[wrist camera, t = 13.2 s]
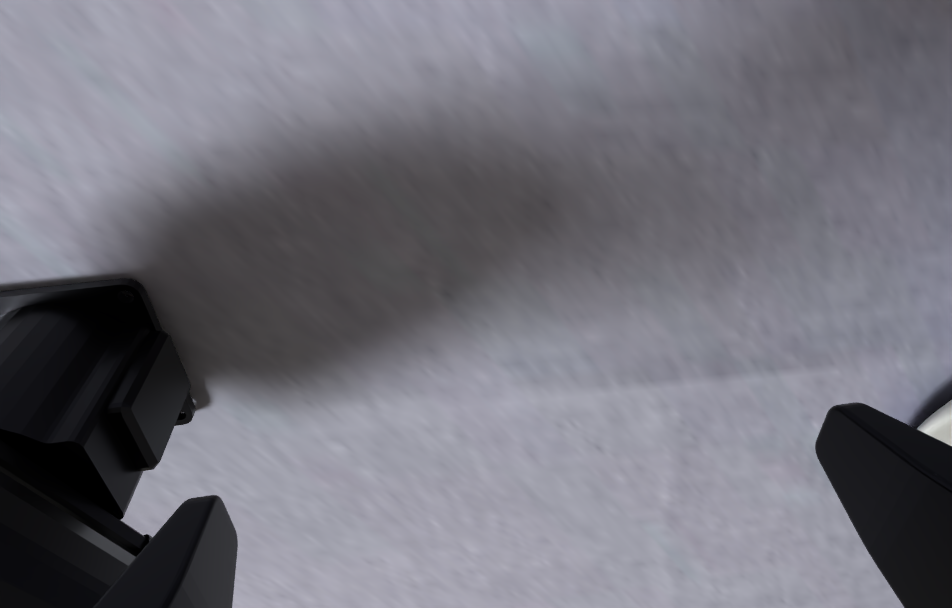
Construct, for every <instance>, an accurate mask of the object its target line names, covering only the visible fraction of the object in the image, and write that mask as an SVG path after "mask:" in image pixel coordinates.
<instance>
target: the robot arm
mask: <svg viewBox="0 0 952 608" xmlns="http://www.w3.org/2000/svg"><path fill="white" fill-rule="evenodd" d="M122 291H128V292H130V293H131V294H132V295H133V296H134V297H127V296H125V295H124V294H123V293H122ZM189 389H190V382H189V380H188V378H187V375H186V373H185V370H184V368H183V366H182V363H181V361H180V358H179V356H178V354H177V351H176V349H175V347H174V344H173V342H172V339H171V337H170V335H169V334H167V333H166V332H165V331H163V330H162V328H161V326H160V323H159V321H158V319H157V316H156V314H155V312H154V309H153V307H152V305H151V302H150V300H149V298H148V295H147V293H146V291H145V289H144V287H143V286H142V285H141V284H140V283H139V282H137V281H135V280H132V279H115V280H105V281H96V282H87V283H78V284H68V285H59V286H50V287H40V288H31V289H22V290H12V291H3V292H0V608H232V602H233V591H234V580H235V570H236V559H237V547H238V543H237V534H236V530H235V528H234V526H233V523H232V521H231V519H230V517H229V514H228V512H227V510H226V508H225V505H224V503H223V501H222V499H221V498H220V497H219V496H217V495H211V496H204V497H197V498H191V499H188V500H186V501H185V502H184V503H182V505H181V506H180V507H179V508H178V509H177V510H176V511H175V513H174V514H173V515H172V516H171V517H170V518H169V519H168V521H167V522H166V523H165V524H164V525H163V526H162V528H161V529H160V530H159V531H158V532H157V533H156V535H155V536H154V537H151V536H150V535H148V534H146V535H142V534H140V533H139V532H137V531H136V530H134V529H133V528H131V527H130V526H128V525H127V524H125V523H124V522H122V521H121V519H122V518H123V517H124V515H125V512H126V510H127V508H128V505H129V503H130V501H131V498H132V496H133V494H134V491H135V489H136V487H137V484H138V482H139V480H140V477H141V475H142V473H143V471H145V470H152V469H154V468H155V467H156V466H157V464H158V463H159V462H160V460H161V457H162V455H163V453H164V450H165V448H166V445H167V443H168V440H169V438H170V435H171V433H172V431H173V428H174V426H176V425H183V424H187V423H189V422H190V421H191V420H192V418H193V416H194V413H195V405H194V403H193V401H192V398H191V396H190V394H189ZM180 411H182V412H184V413H180ZM815 449H816V454H817V457H818V459H819V461H820V463H821V465H822V467H823V469H824V471H825V473H826V475H827V476H828V478H829V480H830V482H831V484H832V486H833V488H834V490H835V492H836V493H837V495H838V497H839V499H840V501H841V503H842V505H843V507H844V508H845V510H846V512H847V514H848V516H849V518H850V520H851V522H852V523H853V525H854V527H855V529H856V531H857V533H858V535H859V536H860V538H861V540H862V542H863V544H864V545H865V547H866V549H867V551H868V552H869V554H870V555H871V557H872V559H873V560H874V562H875V563H876V565H877V567H878V568H879V570H880V571H881V573H882V574H883V576H884V577H885V579H886V580H887V582H888V583H889V585H890V586H891V588H892V589H893V591H894V592H895V594H896V595H897V597H898V598H899V600H900V602H901V603H902V605H903V606H904V608H952V446H950V445H948V444H946V443H944V442H942V441H940V440H938V439H936V438H934V437H932V436H930V435H928V434H925V433H923V432H921V431H919V430H917V429H915V428H913V427H911V426H909V425H907V424H905V423H903V422H901V421H899V420H897V419H895V418H892V417H890V416H888V415H886V414H884V413H882V412H880V411H878V410H876V409H874V408H872V407H870V406H868V405H865V404H863V403H848V404H841V405H836V406H833V407H832V408H831V409H830V410H829V411H828V413H827V415H826V418H825V420H824V423H823V425H822V428H821V430H820V433H819V435H818V438H817V440H816V445H815Z"/></svg>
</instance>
